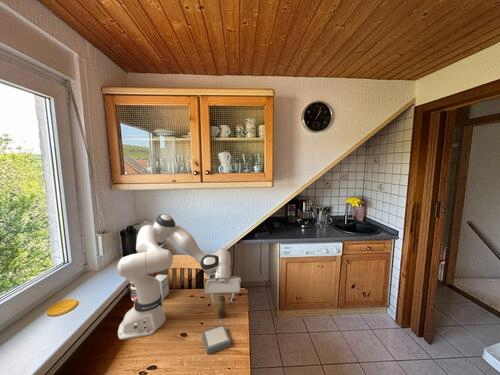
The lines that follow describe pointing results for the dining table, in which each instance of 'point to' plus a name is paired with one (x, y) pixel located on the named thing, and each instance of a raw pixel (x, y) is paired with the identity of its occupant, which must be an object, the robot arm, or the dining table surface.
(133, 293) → the decorative candle
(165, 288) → the supplement box
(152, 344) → the dining table surface
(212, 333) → the base
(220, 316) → the pepper mill
